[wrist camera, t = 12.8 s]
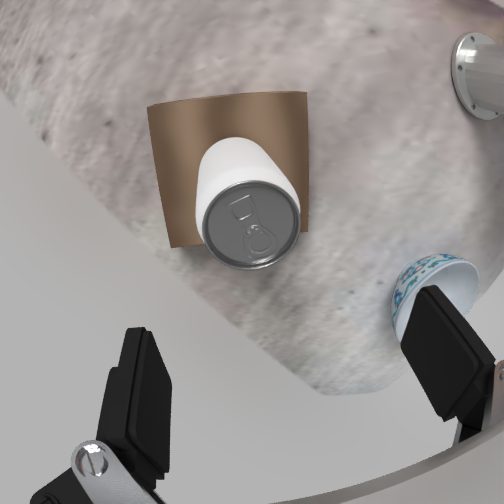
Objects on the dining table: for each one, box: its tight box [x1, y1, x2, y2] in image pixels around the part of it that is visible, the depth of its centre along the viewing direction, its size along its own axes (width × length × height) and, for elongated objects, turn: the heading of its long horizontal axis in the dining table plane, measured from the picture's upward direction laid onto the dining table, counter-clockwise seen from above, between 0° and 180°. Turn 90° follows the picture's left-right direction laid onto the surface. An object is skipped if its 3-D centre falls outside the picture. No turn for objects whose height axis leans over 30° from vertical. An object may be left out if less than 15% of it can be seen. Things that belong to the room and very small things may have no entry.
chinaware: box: [391, 254, 480, 343], centre depth 40 cm, size 15×15×8 cm
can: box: [196, 137, 301, 270], centre depth 23 cm, size 6×6×12 cm
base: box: [147, 91, 309, 248], centre depth 30 cm, size 14×14×4 cm
